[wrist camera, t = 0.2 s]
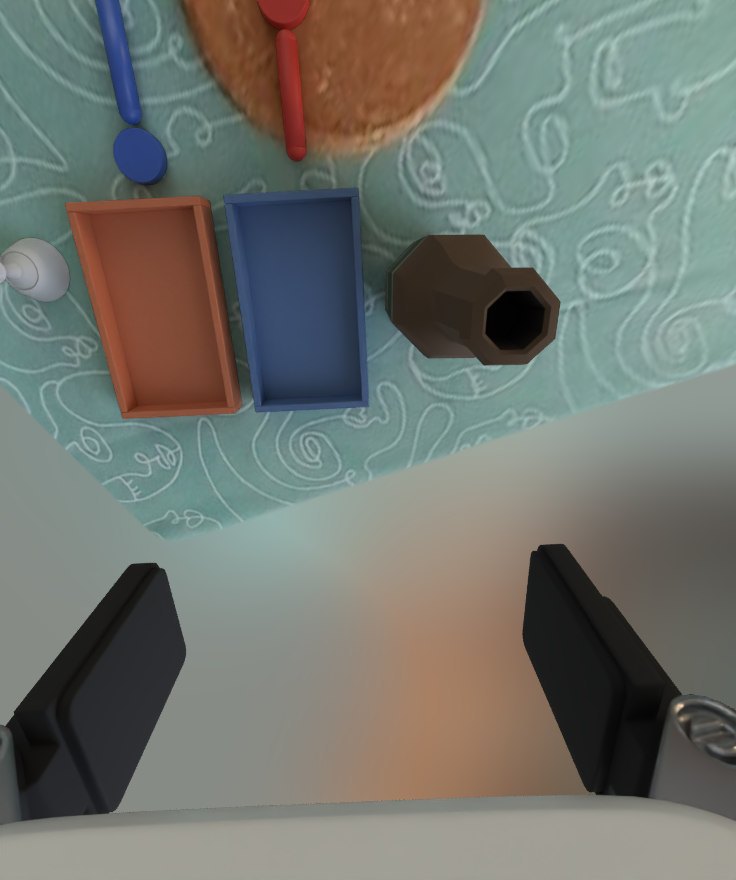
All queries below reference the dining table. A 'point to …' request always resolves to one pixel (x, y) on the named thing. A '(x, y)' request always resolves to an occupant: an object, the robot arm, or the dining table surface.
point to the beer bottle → (469, 302)
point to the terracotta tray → (159, 304)
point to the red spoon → (288, 68)
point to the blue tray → (301, 297)
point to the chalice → (35, 270)
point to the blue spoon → (128, 103)
